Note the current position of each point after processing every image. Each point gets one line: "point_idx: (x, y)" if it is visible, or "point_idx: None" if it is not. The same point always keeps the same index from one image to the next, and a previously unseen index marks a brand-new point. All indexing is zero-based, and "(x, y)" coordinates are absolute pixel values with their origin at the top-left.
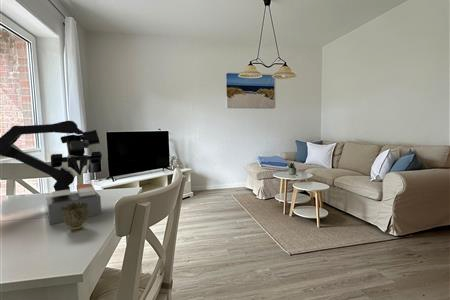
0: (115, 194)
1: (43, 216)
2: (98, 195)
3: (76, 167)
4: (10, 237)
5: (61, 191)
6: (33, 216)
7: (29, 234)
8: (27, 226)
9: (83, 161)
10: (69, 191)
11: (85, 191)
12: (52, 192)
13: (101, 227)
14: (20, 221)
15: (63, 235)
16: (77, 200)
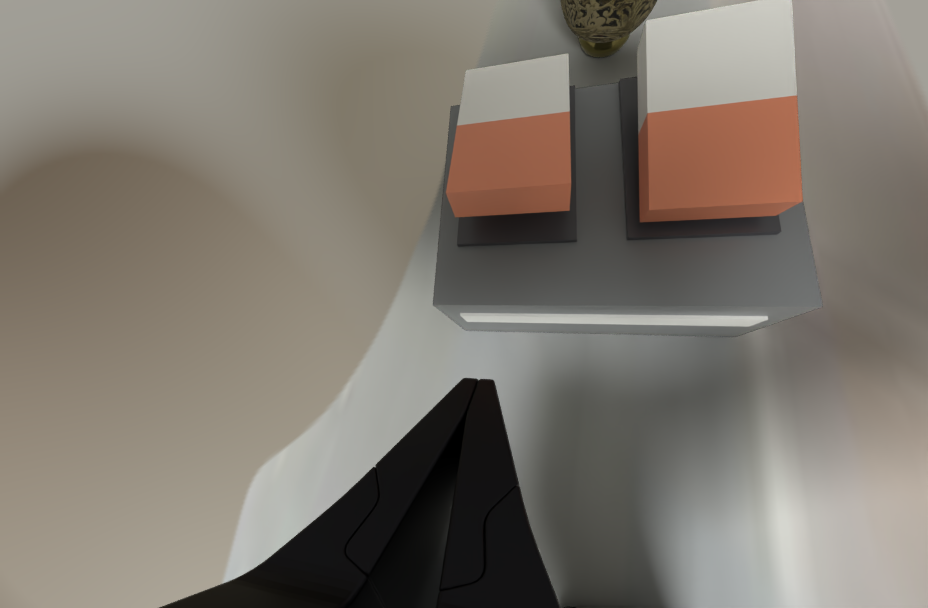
0: (278, 546)
1: (762, 331)
2: (456, 119)
3: (503, 464)
4: (887, 77)
5: (712, 13)
6: (834, 379)
7: (797, 75)
8: (833, 191)
9: (259, 580)
10: (645, 32)
11: (530, 61)
12: (791, 21)
13: (519, 26)
14: (907, 317)
15: (654, 9)
16: (585, 91)
